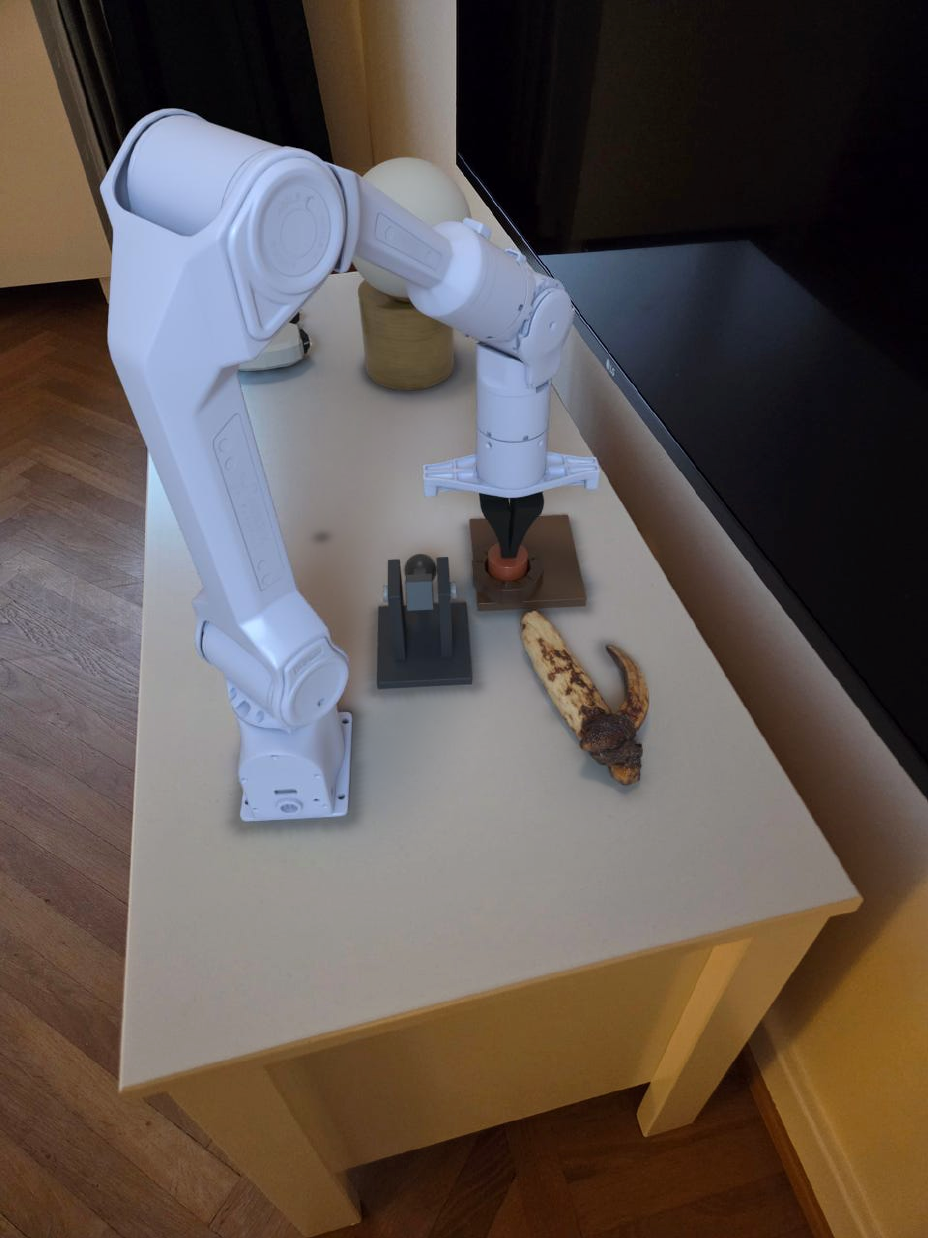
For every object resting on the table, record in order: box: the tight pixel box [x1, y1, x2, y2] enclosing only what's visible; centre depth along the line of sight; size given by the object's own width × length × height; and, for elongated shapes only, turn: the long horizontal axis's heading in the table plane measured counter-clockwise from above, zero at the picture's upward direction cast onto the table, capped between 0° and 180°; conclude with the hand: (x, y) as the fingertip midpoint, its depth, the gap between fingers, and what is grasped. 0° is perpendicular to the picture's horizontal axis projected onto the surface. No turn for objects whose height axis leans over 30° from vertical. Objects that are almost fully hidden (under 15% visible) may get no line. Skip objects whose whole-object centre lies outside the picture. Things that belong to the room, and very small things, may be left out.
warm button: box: [488, 543, 528, 581], centre depth 76 cm, size 4×4×2 cm
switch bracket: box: [376, 556, 473, 690], centre depth 71 cm, size 9×8×9 cm
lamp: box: [351, 156, 473, 391], centre depth 96 cm, size 15×14×25 cm
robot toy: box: [237, 308, 314, 372], centre depth 108 cm, size 12×4×15 cm
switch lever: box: [403, 553, 437, 611], centre depth 73 cm, size 11×3×3 cm
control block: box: [468, 514, 587, 612], centre depth 80 cm, size 12×10×3 cm
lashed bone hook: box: [520, 610, 650, 786], centre depth 68 cm, size 9×5×18 cm
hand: (508, 550), depth 76 cm, fingers closed
